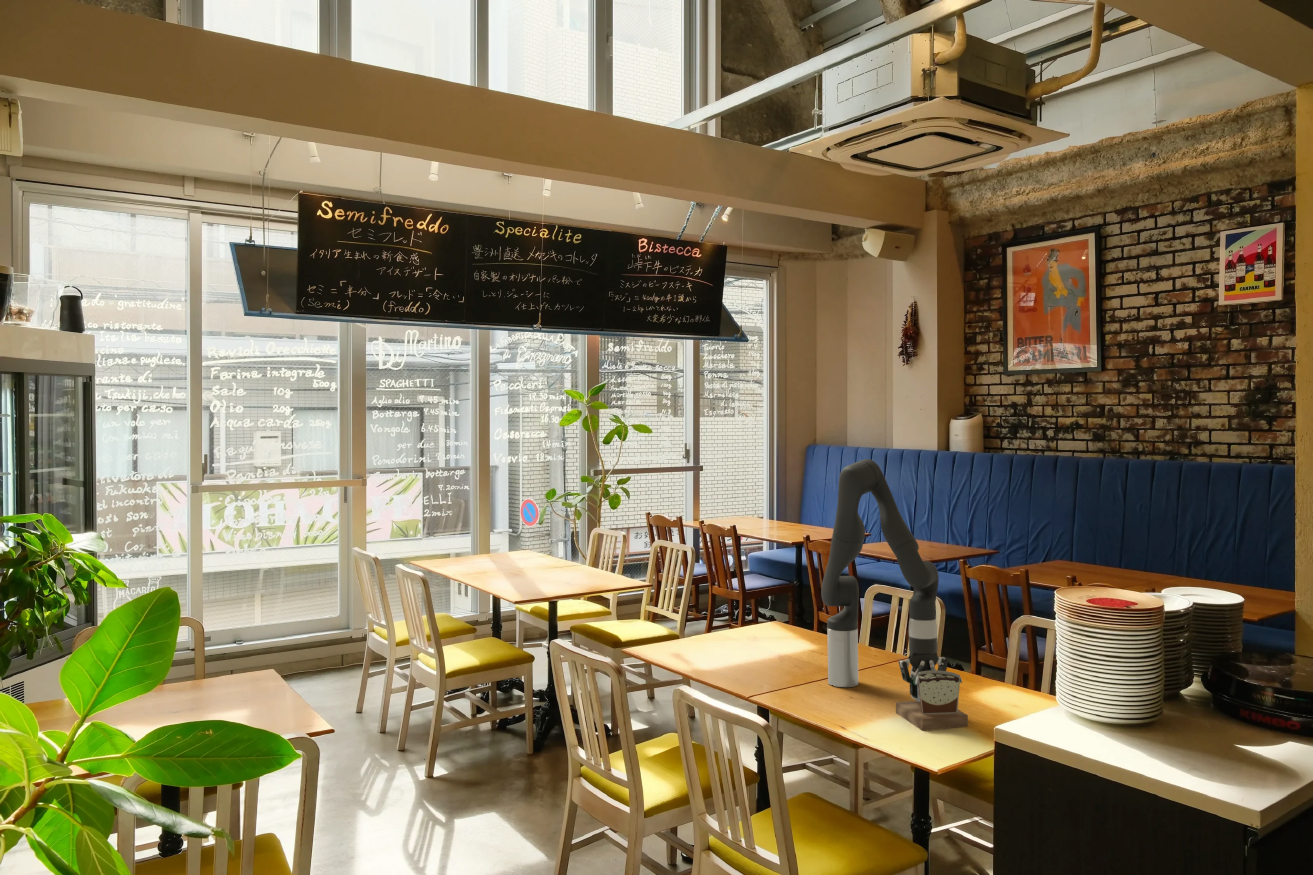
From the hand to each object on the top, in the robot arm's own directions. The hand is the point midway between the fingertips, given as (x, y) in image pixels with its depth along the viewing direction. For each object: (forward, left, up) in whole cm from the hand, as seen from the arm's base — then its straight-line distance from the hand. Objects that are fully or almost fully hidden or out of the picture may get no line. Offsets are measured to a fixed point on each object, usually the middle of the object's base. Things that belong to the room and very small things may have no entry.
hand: (924, 696), depth 244 cm
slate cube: (0, 0, -1) cm, 1 cm away
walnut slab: (+4, 0, -5) cm, 7 cm away
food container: (+6, 0, -2) cm, 6 cm away
